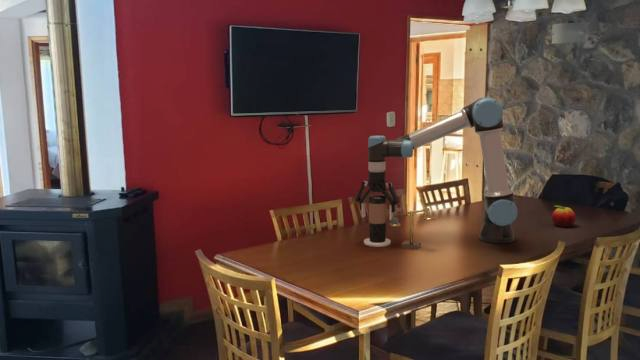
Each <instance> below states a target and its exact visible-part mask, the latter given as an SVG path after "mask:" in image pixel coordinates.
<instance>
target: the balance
mask: <svg viewBox="0 0 640 360" xmlns="http://www.w3.org/2000/svg"><path fill="white" fill-rule="evenodd" d="M430 210H431V209H430V207H428V208H424V209H423V208H422V209H418V210H410V211H407V212H401V213H396V214H393V218H392V219H391V220H390V223H388V226H389V227H395V228H396V227H397V228H398V227H401V226H402V225H401V223H400V222H399V218H398V217H401V216H408V215H409V240H404V241H403V242H402V243H401V249H405V250H407V249H408V250H413V251H417V250H419V249H420V248H421V247H422V241H414V221H415V220H414V218H415V217H414V214H417V213H424V212H428V216H423V217H422V220H425V221H435V220H436V217H435V216H430V213H431V212H430Z"/></svg>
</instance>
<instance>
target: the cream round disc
mask: <svg viewBox="0 0 640 360" xmlns="http://www.w3.org/2000/svg"><path fill="white" fill-rule="evenodd" d="M391 241H392V240H391V239H389V238H387V237H386V239H385V242H381V243H374V242H371V241H370V238H369V237H367V238H365V239H363V244H364V245H365V246H367V247H371V248H372V247H373V248H381V247H382V248H383V247H387V246H390V245H391V244H392V243H391Z"/></svg>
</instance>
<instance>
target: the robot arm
mask: <svg viewBox="0 0 640 360" xmlns="http://www.w3.org/2000/svg"><path fill="white" fill-rule="evenodd" d="M503 115H504V111H503V106H502V104H501V103H500V102H499V101H498V100H497V99H495V98H492V97H481V98H478V99H476V100H475V101H473V102H472V103H470V104H469V105H466V106H464V107H462V108H461V110H460V111H458V112H456V113H452V115H449V116H446V117H445V118H442V119H440V120H438V121H435V122H433V123H430V124H428V125H426V126H423V127H421V128H419V129H417V130H415V131H412V132H410V133H408V134H405V135H402V136H399V137H397V138H396V139H395V140H394V139H393V140H392V139H391V140H387V139H386V136H385V135H370V136H369V137H368V141H367V142H368V145H367V153H368V156H367V157H368V161H367V162H368V168H367V169H368V172H367V173H368V181H366V180H363V181H361V185H360V188H359V191H358V192H357V193H358V194H357V196H356V198H355V202H357V203H359V210H360V211H361V218H365V217H366V202H365V200H366V199H367V198H369V197H370V195H371V193H372V192H373V193H382V195H383V196H385V197H386V201H387V202H388V203H389V221H391V219H392V218H394V213H395V212H396V205H398V204H400V199H399V198H398V195H397V192H396V191H395V189H394V184H393V182H392V181H391V182H386V180H387V179H386V178H387V177H386V175H387V173H386V158H388V159H389V158H397V159H398V158H402V159H403V158H404V159H406V158H412V157H413V155H414V150H416V149H419V148H422V147H423V146H426V145H428V144H430V143H432V142H434V141H437V140H440V139H442V138H445V137H447V136H450V135H451V134H454V133H457V132H458V131H461V130H464V129H465V128H470V129H471V128H474V133H476V134H477V135H478V136H479V140H480V147H481V154H482V159H483V160H482V161H483V167H484V173H485V174H484V175H485V181H486V186H487V189H486V190H484V195H483V198H484V201H483V202H484V205H483V210H484V211H483V223H482V226H481V229H480V232H479V236H478V237H479V240H481V241H482V242H484V243H491V244H510V243H513V242H514V241H515V234H514V230H513V228H512V223H513V222H514V221H515V220H516V219H517V216H518V208H517V205H516V201H515V195H514V191H513V190H512V189H511V188H510V187H509V181H508V174H507V167H506V160H505V154H504V147H503V141H502V140H503V139H502V134H501V132H502V131H503V130H504V128H505V127H504V122H503V121H504V120H503ZM367 186H368V189H367V191H366V192H365V190H366V187H367ZM386 187H387V188H388V190H387V188H386ZM388 191H389V192H388ZM364 192H365V193H364Z"/></svg>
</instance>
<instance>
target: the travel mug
mask: <svg viewBox="0 0 640 360" xmlns="http://www.w3.org/2000/svg"><path fill="white" fill-rule="evenodd" d="M368 232H369V233H368V234H369V235H368V236H369V237H368V238H370V241H371V242H374V243H381V242H385V239H386V238H387V198H386V197H385V196H384V195H374V196H372V197H371V196H368Z"/></svg>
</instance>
